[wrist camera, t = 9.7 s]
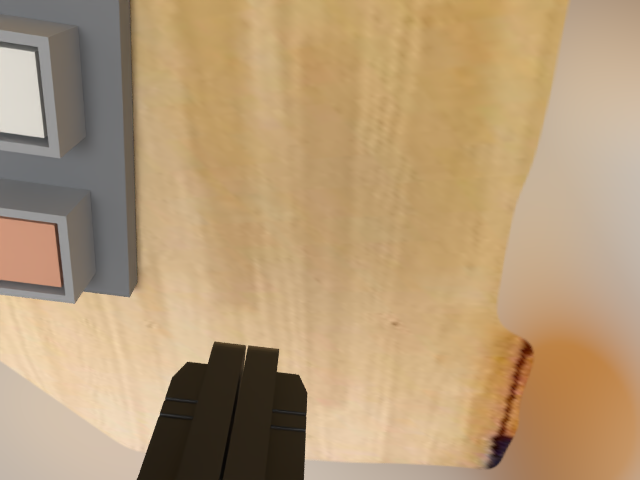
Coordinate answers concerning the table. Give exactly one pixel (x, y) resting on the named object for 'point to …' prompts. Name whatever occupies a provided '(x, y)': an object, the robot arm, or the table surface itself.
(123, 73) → the key panel
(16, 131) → the white key
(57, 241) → the terracotta key
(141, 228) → the table surface
